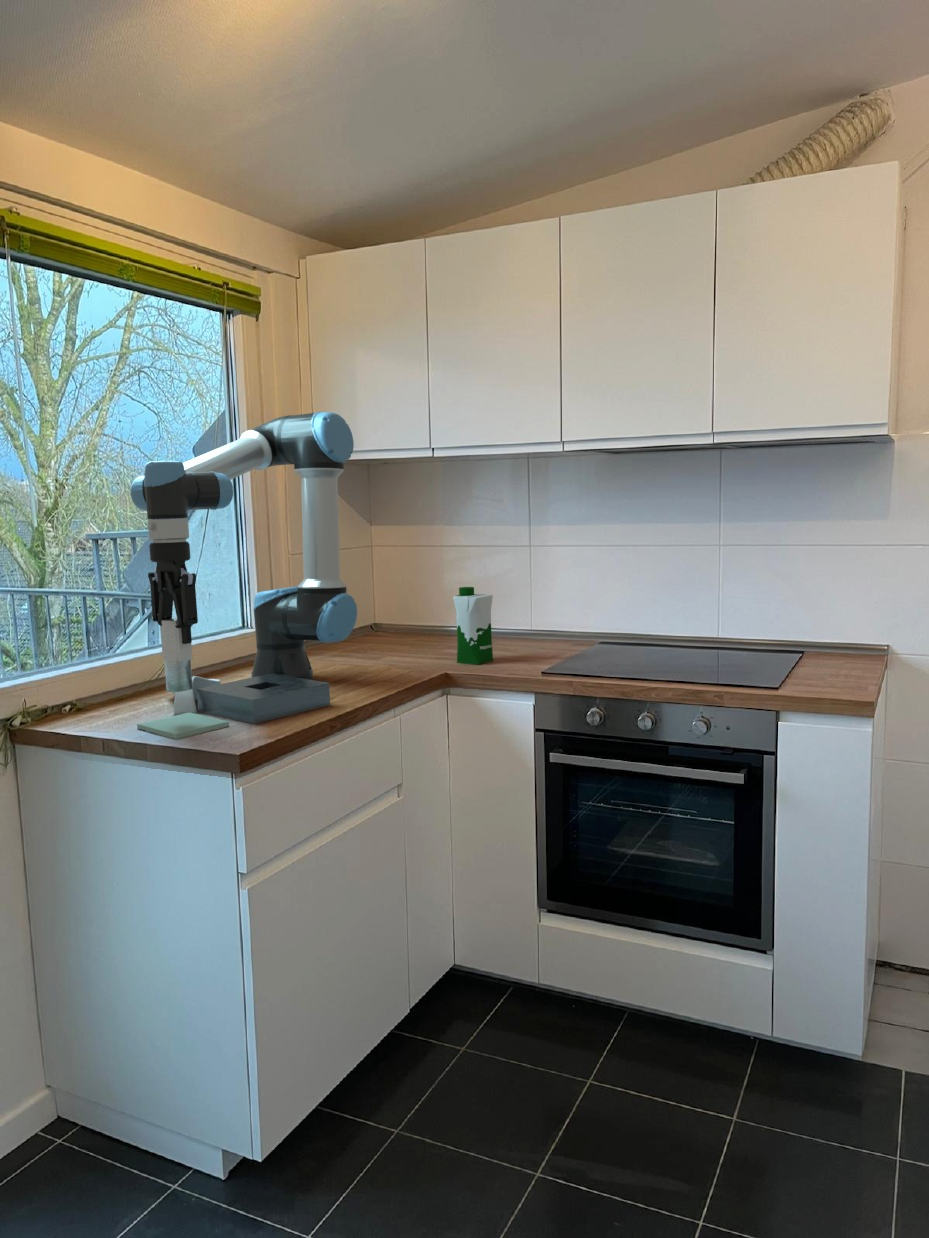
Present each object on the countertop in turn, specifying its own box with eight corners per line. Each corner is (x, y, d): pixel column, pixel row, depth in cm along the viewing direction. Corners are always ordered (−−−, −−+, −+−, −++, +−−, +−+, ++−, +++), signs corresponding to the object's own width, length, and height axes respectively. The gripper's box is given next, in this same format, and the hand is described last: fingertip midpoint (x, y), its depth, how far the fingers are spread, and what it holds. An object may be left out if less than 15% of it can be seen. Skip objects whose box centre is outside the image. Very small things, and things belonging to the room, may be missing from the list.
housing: (198, 711, 199) (196, 688, 199) (273, 694, 214) (272, 673, 214) (254, 724, 186) (252, 699, 186) (330, 705, 201) (329, 682, 200)
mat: (137, 728, 185) (137, 724, 185) (189, 716, 194) (189, 712, 194) (175, 739, 176) (175, 734, 176) (228, 726, 185) (228, 721, 185)
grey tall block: (161, 690, 184) (156, 620, 182) (183, 685, 188) (178, 617, 186) (175, 692, 181) (170, 621, 179) (197, 688, 184) (192, 618, 183)
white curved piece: (172, 694, 219) (170, 665, 218) (223, 691, 221) (221, 662, 220) (157, 717, 196) (155, 684, 195) (214, 713, 198) (212, 680, 197)
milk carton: (471, 658, 254) (469, 585, 252) (498, 660, 249) (496, 586, 246) (451, 663, 247) (449, 588, 245) (479, 666, 242) (476, 590, 239)
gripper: (127, 541, 183) (136, 657, 186) (177, 542, 172) (186, 665, 175) (161, 539, 189) (169, 652, 192) (212, 540, 177) (220, 659, 180)
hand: (177, 658), depth 183 cm, fingers closed on grey tall block, 5 cm apart
